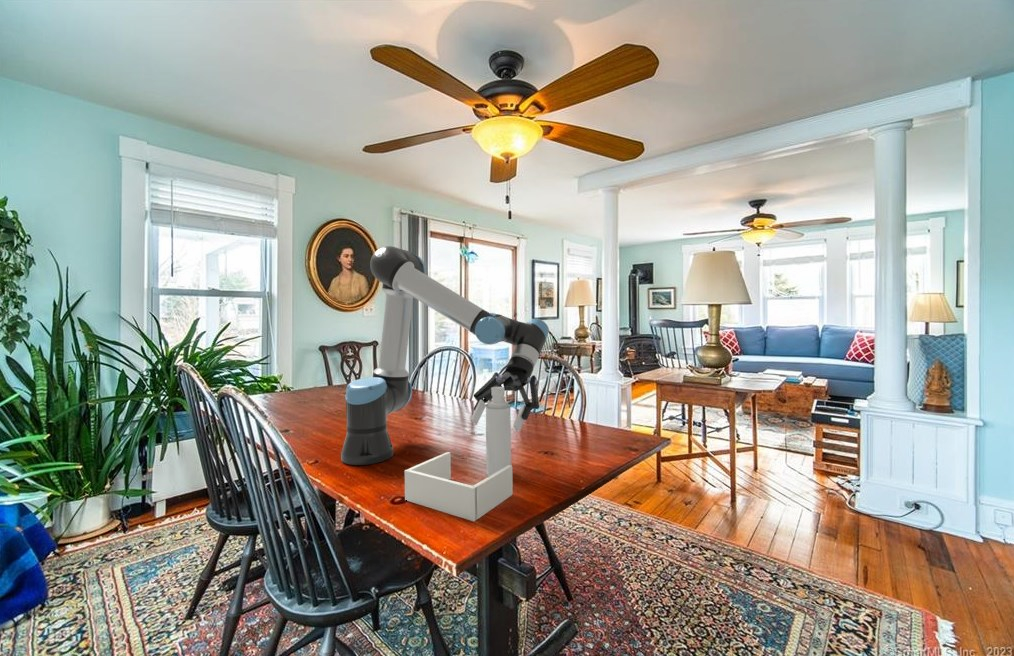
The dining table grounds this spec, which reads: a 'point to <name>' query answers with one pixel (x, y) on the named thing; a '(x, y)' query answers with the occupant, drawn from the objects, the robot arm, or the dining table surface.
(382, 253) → the robot arm
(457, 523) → the dining table surface
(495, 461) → the white bottle
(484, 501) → the storage bay
